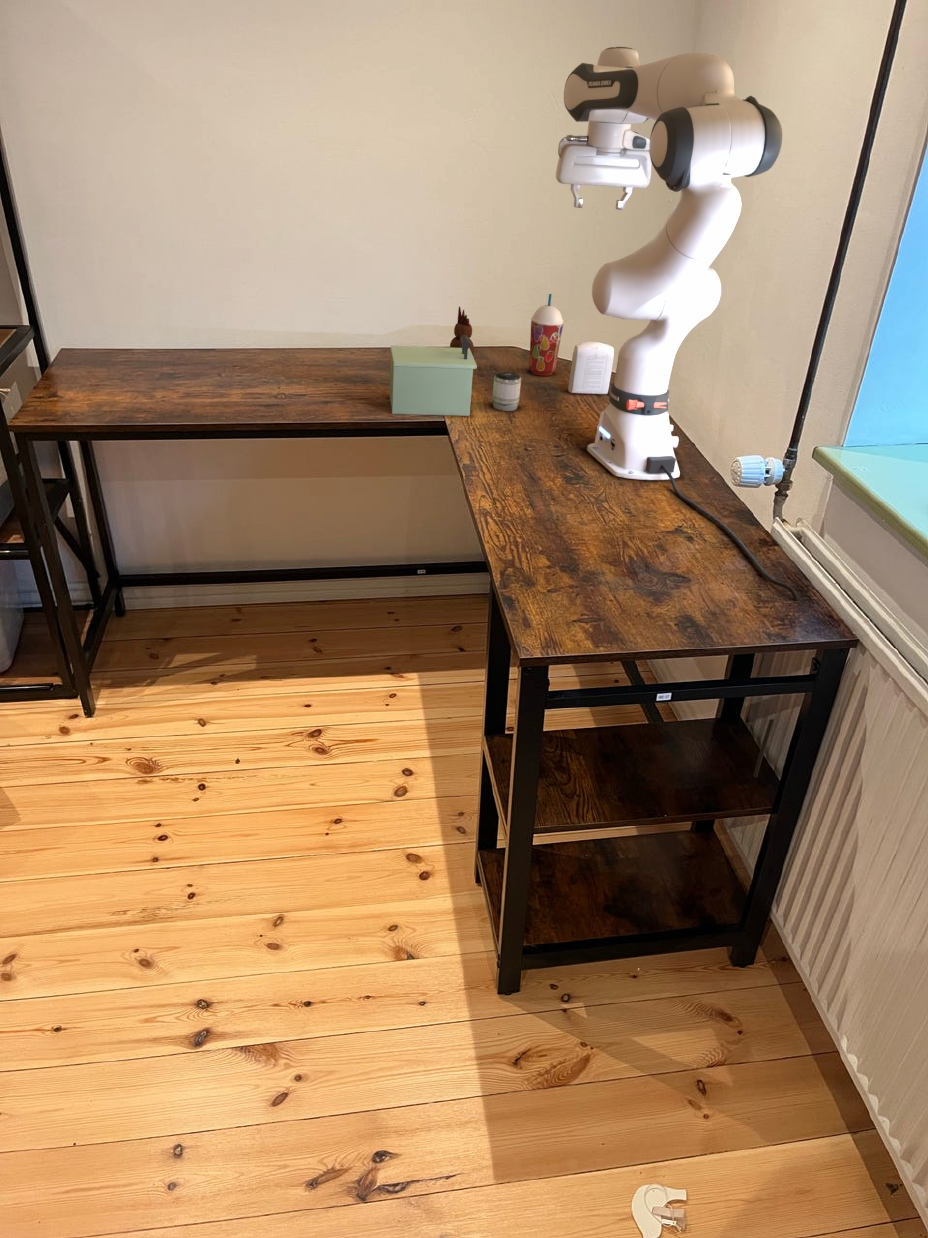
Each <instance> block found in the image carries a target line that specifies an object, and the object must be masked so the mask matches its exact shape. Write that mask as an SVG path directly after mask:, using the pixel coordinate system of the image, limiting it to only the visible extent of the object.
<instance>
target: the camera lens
mask: <svg viewBox="0 0 928 1238" xmlns="http://www.w3.org/2000/svg"><path fill="white" fill-rule="evenodd" d="M521 384H522V378H521V376H520V375H519V374H517V373H515V372H512V371H502V372H498V373H496V374H495V375H494V377H493V387H492V396H491V397H492V407H493V408H494V409H495V410H498V411H501V412H502V411H504V412H512V411H516V410H517V409H518V406H519V403H520V395H521Z"/></svg>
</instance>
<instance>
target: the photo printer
mask: <svg viewBox="0 0 928 1238" xmlns="http://www.w3.org/2000/svg"><path fill="white" fill-rule="evenodd" d="M614 354H615V348H614V347H613V346H612V345H610V344H607V343H603V342H599V341H587V342H582V343H578V344H575V346H574V348H573V352H572V357H571V365H570V372H569V379H568V386H567V391H568V392H569V393H571V394H588V395H591V394H593V395H608V393H609V390H610V384H611V383H610V382H611V376H612V370H613V364H614V357H615V355H614Z"/></svg>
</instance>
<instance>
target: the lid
mask: <svg viewBox="0 0 928 1238" xmlns="http://www.w3.org/2000/svg"><path fill="white" fill-rule="evenodd" d="M469 339H470V338H469ZM469 339H468V336H467V335H462V336H461V338H460V340H461V343H462V348H450V347H448V346H447V347H444V346H415V345H393V344H392V345H390V352H391V354H392V359H393V365H394V366H403V367H433V368H463V369H473V370H477V367H478V366H477V362H476V360H475V358H473V355H472V353H471V351H470V348H469V347H470V346H471V343H470V341H469Z"/></svg>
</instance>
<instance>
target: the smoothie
mask: <svg viewBox="0 0 928 1238" xmlns="http://www.w3.org/2000/svg"><path fill="white" fill-rule="evenodd" d="M530 320H531V321H530V338H529V339H530V340H529V360H528V361H529V362H528V363H529V364H528V365H529V368H530V372H531V373H532V375H535V376H540V377H549V376H551V375H553V373H554V371H555V370H556V368H557V362H558V356H559V351H560V345H561V339H562V334H563V330H564V329H563V328H564V323H565V320H564V319H563V316H562V313H561V310H560V309H558V308H557V307H556V306H554V305H552V293H549V294H548V301H547V304H545V305H541V306H539V308H537V310H535V312H534V313H533V315H532V317H531V318H530Z"/></svg>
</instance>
